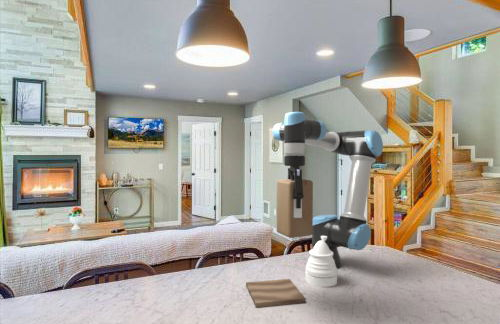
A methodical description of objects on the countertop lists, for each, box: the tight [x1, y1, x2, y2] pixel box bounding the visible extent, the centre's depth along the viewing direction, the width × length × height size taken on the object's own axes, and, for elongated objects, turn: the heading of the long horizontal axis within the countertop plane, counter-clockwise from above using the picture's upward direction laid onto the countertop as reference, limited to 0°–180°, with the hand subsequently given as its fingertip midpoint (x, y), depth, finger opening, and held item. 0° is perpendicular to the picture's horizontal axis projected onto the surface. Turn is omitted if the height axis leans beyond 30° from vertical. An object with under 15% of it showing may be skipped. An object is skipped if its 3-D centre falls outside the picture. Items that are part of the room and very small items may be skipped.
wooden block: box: [276, 178, 314, 239], centre depth 118 cm, size 10×10×20 cm
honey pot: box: [304, 236, 338, 288], centre depth 133 cm, size 13×13×18 cm
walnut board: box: [245, 278, 307, 308], centre depth 121 cm, size 18×18×2 cm
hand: (294, 214), depth 118 cm, fingers closed on wooden block, 12 cm apart
